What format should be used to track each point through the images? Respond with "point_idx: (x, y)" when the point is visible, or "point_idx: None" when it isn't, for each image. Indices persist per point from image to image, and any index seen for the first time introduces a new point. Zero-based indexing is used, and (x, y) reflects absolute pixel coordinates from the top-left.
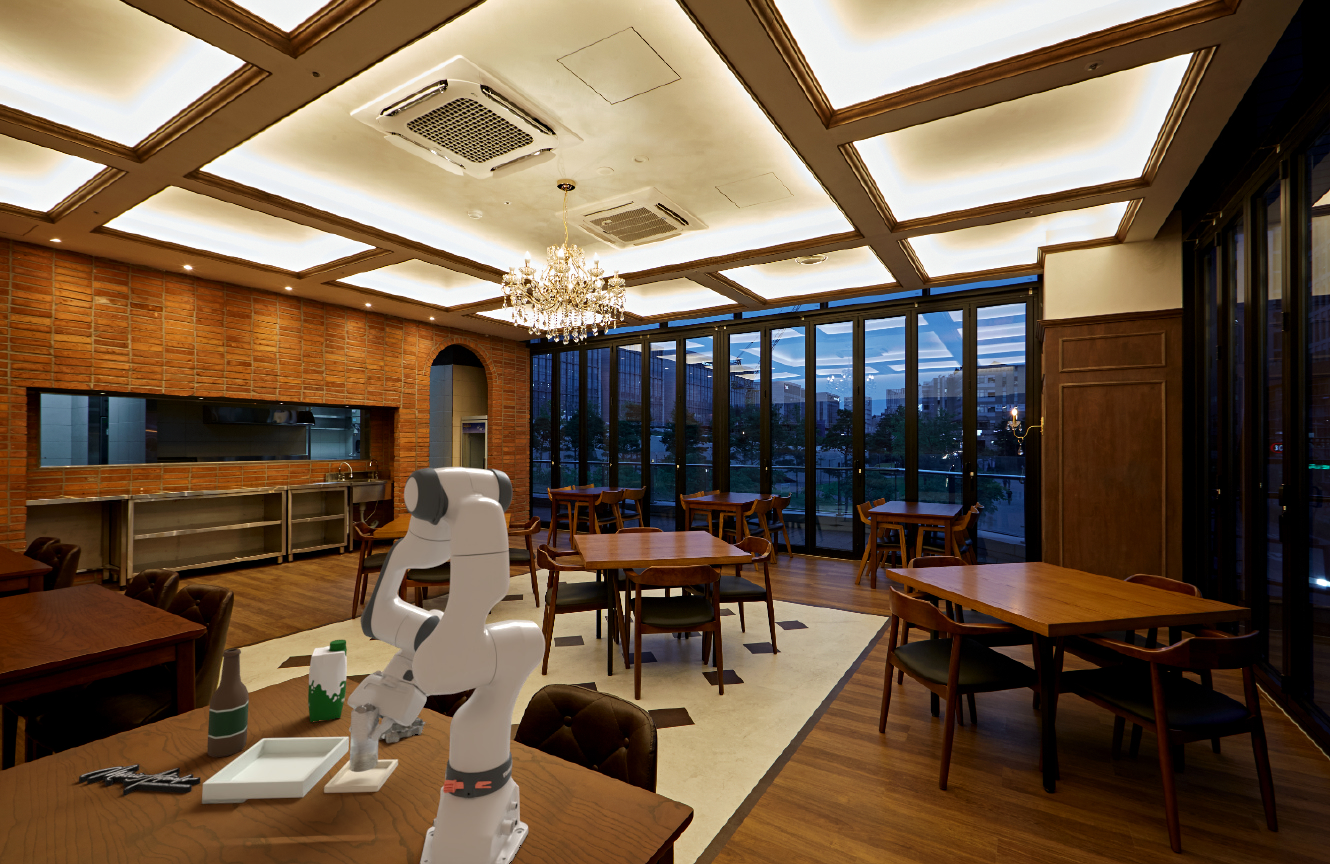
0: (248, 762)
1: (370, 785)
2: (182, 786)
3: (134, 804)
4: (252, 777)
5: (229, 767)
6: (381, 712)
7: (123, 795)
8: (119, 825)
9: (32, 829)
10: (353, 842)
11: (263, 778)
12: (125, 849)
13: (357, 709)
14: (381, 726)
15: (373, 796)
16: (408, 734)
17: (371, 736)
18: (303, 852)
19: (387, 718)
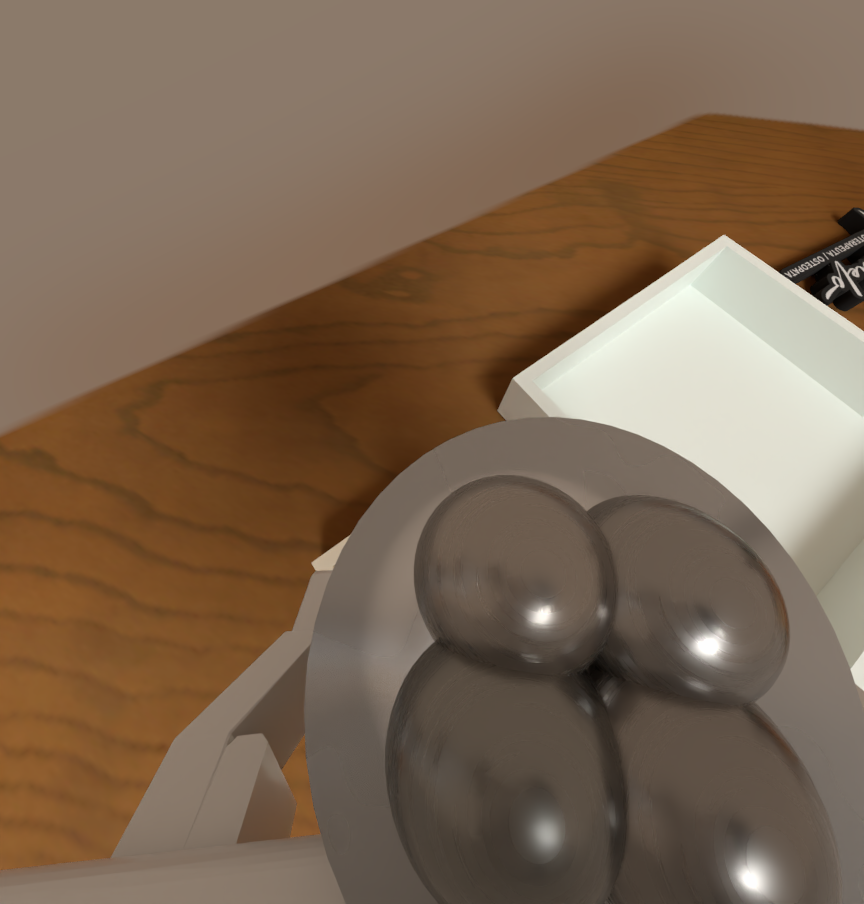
0: (853, 394)
1: (338, 545)
2: (794, 268)
3: (775, 220)
4: (740, 377)
5: (800, 304)
6: (270, 884)
7: (838, 220)
8: (692, 190)
9: (777, 133)
10: (180, 389)
11: (711, 391)
12: (584, 176)
13: (634, 511)
14: (237, 681)
15: (329, 549)
16: None
17: (325, 571)
18: (266, 315)
19: (128, 839)
